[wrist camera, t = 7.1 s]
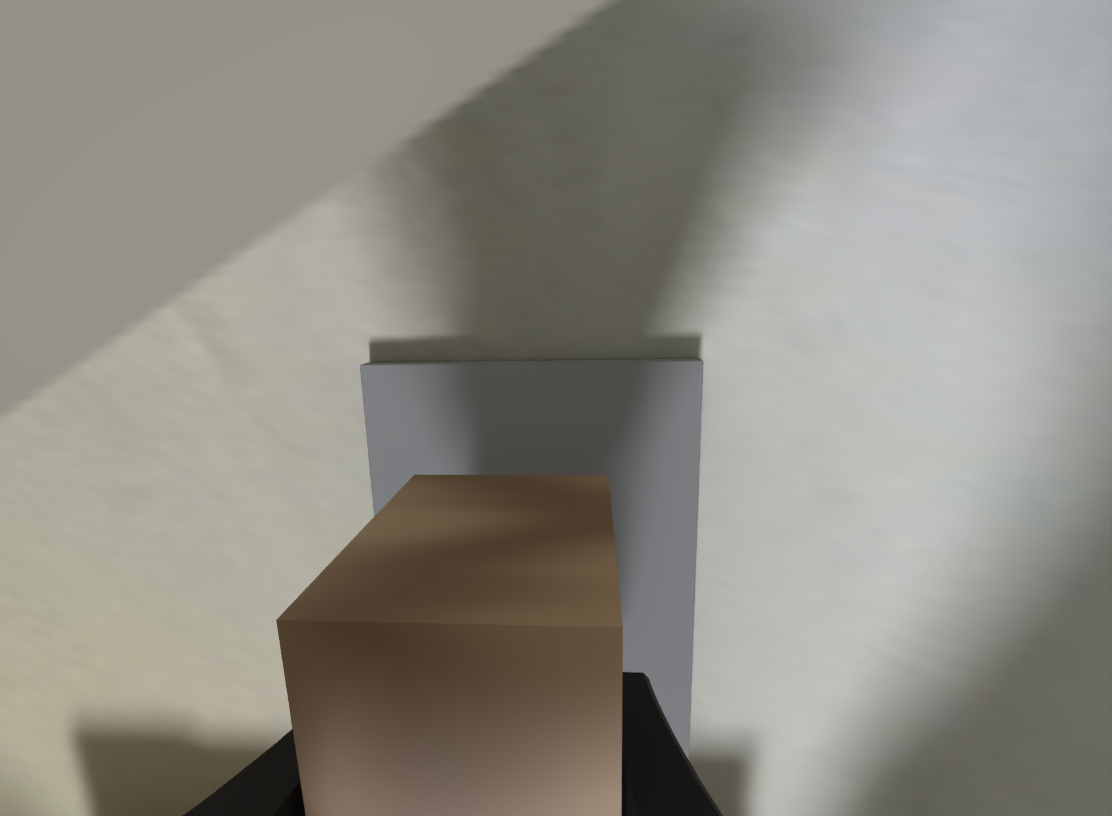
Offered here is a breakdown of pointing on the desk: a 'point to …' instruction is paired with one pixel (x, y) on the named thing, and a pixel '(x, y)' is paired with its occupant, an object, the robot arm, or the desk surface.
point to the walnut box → (464, 655)
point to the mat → (570, 470)
